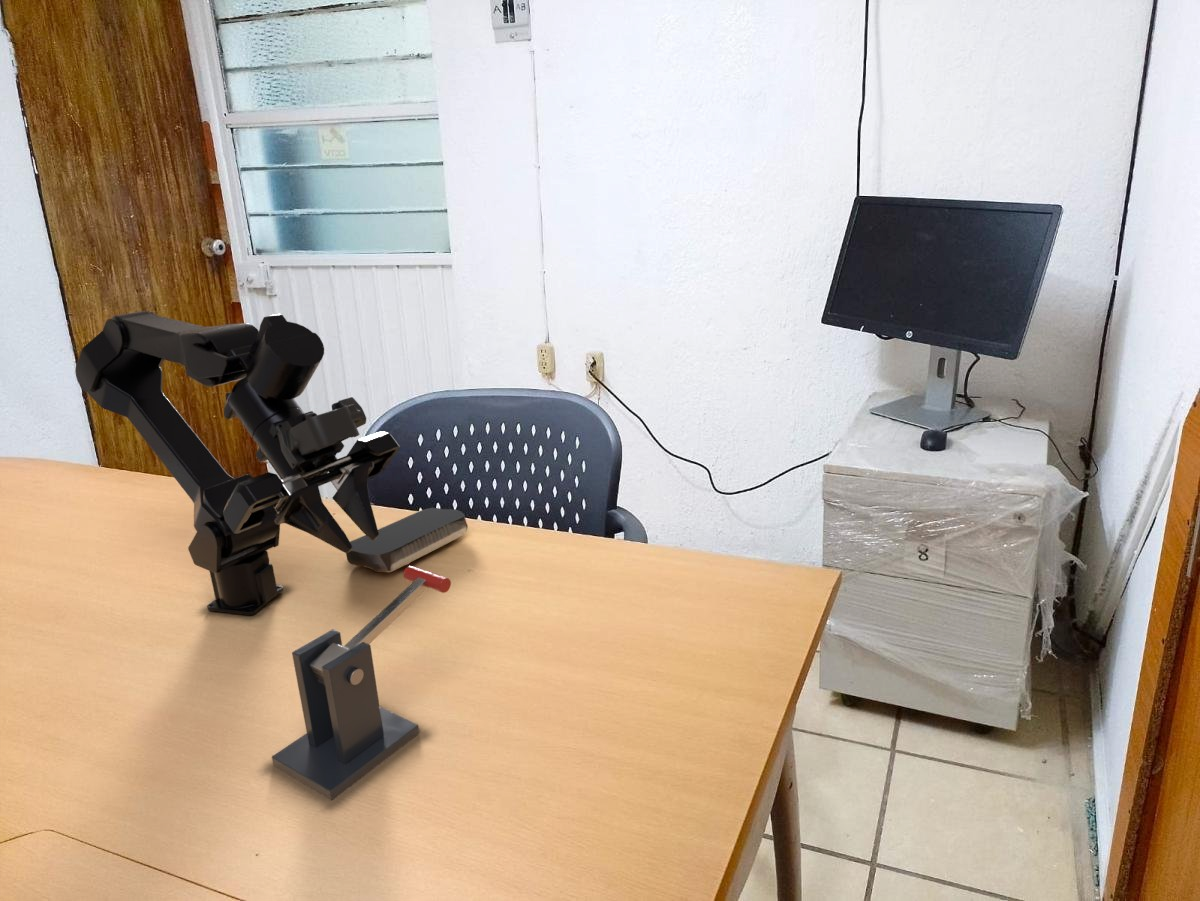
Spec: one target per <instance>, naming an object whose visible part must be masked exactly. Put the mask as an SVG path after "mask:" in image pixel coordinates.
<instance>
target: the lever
mask: <svg viewBox="0 0 1200 901" xmlns="http://www.w3.org/2000/svg"><path fill="white" fill-rule="evenodd" d="M403 578H404V579H405V581H408V582H410V584H409V585H408V586H407V587H406V588H405V589H404V590H402V591H401V592H400V593H399V594H398V595H397V596H396V597H395V598H394V599H393V600H392V601H391V602H390V603H389V604H387V605H386V607H384V608H383V609H382V610H381V611H380V612H379V613H377V615H376V616H374V617H373V618H372V620H370V621H369V622H368V623H367V624H366V625H365V626H364V627H363V628H361V630H359V631H358V632H357V633H356V634H355V635H354V636H353V637H352V638H351V639H350V640H349V641H348V642H347V643H345V644H344V645H342V646H340V645H338V644H336V643H332V644H331V645H330V646H329V647H328V648H327V649H325V650H324V651H323V652H322V653H321V654H320V655H319V656H318V657H317V658H316V659H315V660H313V661H312V662H311V663H310V666H311V668H312V670H313V672H314V674H315V676H316V678H317V680H318V682H319V683H320V684H322V685H324V686H325V682H324V676H323V670H322V666H324V665H325V664H327V663H329V662H330V661H332V660H334V659H335V658H337V657H339V656H340V655H342V654H344V653H345V652H347V651H349V650H350V649H352V648H353V647H355V646H357V645H358V644H360V643H362V642H365V643H367V644H369V645H371V643H373V642H374V640H376V638H378V637H379V636H380V635H381V634H382V633H383V632H384V631H385V630H386V629H388V628H389V626H390V625H392V624H393V623H394V622H395V621H396V620H397V619H398V618H399V617H400V616H401V615H402V614H403V613H404V612H405V611H406V610H407V609H408V608H410V607H411V606H412V604H414V603H415V602H416V601H417V600H418V599H419V598H420V597H421V596H422V595H423V594H424V593H425V592H426V591H427V590H428V589H431V590H434V591H437V592H439V593H442V594H445V593H447V592H448V591H449V590H450V588H451V587H452V586H451V585H452V581H451V579H450V578H449V577H447V576H444V575H440V574H437V573H434V572H431V571H428V570H425V569H422V568H419V567H416V566H413V565H409V566H406V568H405V569H404V572H403Z"/></svg>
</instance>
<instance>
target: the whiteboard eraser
mask: <svg viewBox="0 0 1200 901" xmlns="http://www.w3.org/2000/svg"><path fill="white" fill-rule="evenodd" d="M377 529H378V533H379V536H378V537H377V538H376V539H375V540H371V539H370V538H369V537H368V536H367V535H365V534H364V535H362V536H359V537H358V538H356V539H353V540H349V541H350V543H351V545H352V549H351V551H350V552H348V553H345V555H346V556H345V557H346V560H347V563H349V564H351V565H353V566H359V567H362V568H363V567H364V568H368V569H370V570H372V571H375V572H382V573H392V572H394V571H396V570H399V569H400V568H402V567H405V566H408V565H409V564H410V563H412V562H414V561H416V560H417V559H420V558H422V557H424V556H426V555H428V554H430V553H431V552H433V551H435V550H438V549H439V548H442V547H444V546H445V545H447V544H449V543H451V542H453V541H455V540H457V539H459V538H461V537H463V536H464V535H466V533H467V530H468V523H467V519H466V516H465V513H463V512H462V511H460V510H458V509H452V508H439V507H429V508H424V509H422V510H419V511H417V512H415V513H412V514H410V515H407V516H406V517H403V518H401V519H399V520H396V521H394V522H392V523H390V524H387V525H385V526H383V527H381V528H377Z"/></svg>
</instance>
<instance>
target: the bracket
mask: <svg viewBox="0 0 1200 901" xmlns="http://www.w3.org/2000/svg"><path fill="white" fill-rule="evenodd" d="M332 643H336V644H338V645H340V646H343V641H342V636H341V632H340V631H339V630H336V629H334V628H332V629H330V630H329V631H327V632H324V634H321V635H320V636H318V637H316V638H315V639H313V640H311V641H309V642H308V643H306V644H304V645H303V646H301V647H299V648H297V649H296V650H293V651H292V652H291V655H292V660H293V667H294V672H295V676H296V680H297V681H296V682H297V687H298V692H299V699H300V704H301V709H302V714H303V720H304V725H305V730H306V733H305V734H303V735H302V736H300V737H299V738H297V739H296V740H294V741H292V742H291V743H290V744H288V745H287V746H285V747H284V748H282V749H281V750H280V751H277V752H276V753H275V754H273V755H272V756H271V760H272V765H273V766H274V767H275V768H277V769H278V770H280V771H282V772H283V773H285V774H287V775H288V776H290V777H292V778H293V779H295V780H297V781H299V782H300V783H302V784H304V785H305V786H307V787H308V788H310V789H312V790H313V791H315V792H317V793H318V794H320V795H322V796H323V797H325V798H327V799H328V800H329V801H333V800H335V799H336V798H337V797H339V796H340V795H341V794H343V793H344V792H345V791H346V790H348V789H349V788H350V787H352V786H353V785H354V784H356V783H357V782H358V781H360V780H361V779H362V778H364V777H365V776H366V775H367V774H368V773H370V772H371V771H372V770H374V769H375V768H376V767H378V766H379V765H381V764H382V763H383V762H385V760H387V759H388V758H389V757H391V756H392V755H394V754H395V753H396V752H397V751H399V750H400V749H401V748H402V747H404V746H405V745H407V744H408V743H410V742H411V741H412V740H413V739H414V738H417V736H418V735H420V728H419V724H418V723H415V722H413V721H411V720H409V719H407V718H404V717H403V716H401V715H399V714H396V713H394V712H392V711H391V710H388V709H387V708H384V707H382V706H380V700H379V694H378V688H377V680H376V674H375V667H374V659H373V653H372V646H371V644H367V643H365V642H362V643H360V644H358V645H357V646H355V647H353V648H352V649H350V650H349V651H347V652H345V653H344V654H342V655H340V656H339V657H337V658H335V659H334V660H332V661H330V662H329V663H327V664H325V665H324V666H322V670H323V676H324V682H325V686H324V685H322V684H320V683H319V682H318V680H317V678H316V676H315V674H314V672H313V670H312V668H311V666H310V663H311V662H312V661H313V660H315V659H316V658H317V657H318V656H319V655H320V654H321V653H322V652H323V651H324V650H325V649H327V648H328V647H329V646H330V645H331V644H332Z"/></svg>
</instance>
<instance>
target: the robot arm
mask: <svg viewBox="0 0 1200 901" xmlns="http://www.w3.org/2000/svg"><path fill="white" fill-rule="evenodd" d="M324 355H325V346H324V343H323V341H322V339H321V337H320V336H319V335H318V334H317V332H313V331H312V330H311V329H309V328H308V327H305V326H304V325H302V324H299V323H296V322H292V321H288V320H287V319H286V318H285V316H284V315H283V314H282V313H278V314H272V315H268V316H263V318H262V320H261V322H260V325H259V329H258V328H257V327H256V326H255V325H253V324H251V323H248V322H247V323H246V322H244V323H230V324H229V323H228V324H219V325H212V326H203V325H199V324H195V323H190V322H186V321H183V320H178V319H174V318H169V317H165V316H161V315H157V314H156V313H155V312H153V311H147V310H140V311H135V312H130V313H122V314H116V315H112V317H111V318H108V319H106V321H105V323H104V325H103V328H102V330H101V331H100V332H99V333H98V334H97V335H96V336H94V337H93V339H91V340H90V341H89V342H88V343H87V344H86V345H84V346H83V347H82V348H81V351H80V354H79V356H78V359H77V362H76V365H75V370H74V371H75V377H76V381H77V383H78V385H79V387H80V388H81V389H82V391H84V392H85V393H87V394H88V395H89V396H90V398H92V399H93V401H95V402H96V404H97V405H98V406H99V407H101V409H102V410H103V409H104V410H107V411H109V412H112V413H114V414H117V415H119V416H122V417H125V418H127V419H128V421H129V422H130V424H132V425H133V427H134V429H135V430H136V431H137V432H138V433H139V434H140V436H141V437H142V439H143V440H144V441H145V442H146V444H147V445H148V446H149V447H150V448H151V450H152V451H153V452H154V454H155V455H156V456H157V457H158V459H159V460H160V461H161V462H162V464H163V465H164V466H165V468H166V469H167V470H168V472H169V473H170V474H171V476H172V477H173V478H174V479H175V481H176V482H177V483H178V485H179V486H180V487H181V488H182V490H183V491H184V492H185V493H186V495H187V497H189V498H190V500H191V501H192V503H193V527H194V530H195V531H196V533H195V534H194V537H193V538H192V540H191V542H190V543H189V546H188V552H189V555H190V558H191V559H192V560H191V561H192V562H193V564H194V565H195V566H196V567H199V568H202V569H204V570H207V571H208V572H209V576H210V581H211V585H212V590H213V595H214V600H212V601H211V602H210V603H208V604H207V605H206V610H207V611H210V612H219V613H228V614H236V615H237V614H238V615H245V616H252V615H255V614H257V612H259V611H260V610H262V609H263V608H264V607H265V606H266V605H267V604H269V603H270V602H271V601H272V600H273V599H275V598H276V597H277V596H278V595H280V594H281V593H282V592H283V591H284V586H283V585H278V584H277V582H276V575H275V571H274V566H273V564H272V563H270V558H269V552H268V550H271V549H273V548H276V547H278V546H279V544H280V531H281V525H282V524H286V525H288V526H291V527H293V528H296V529H297V530H300V531H303V532H305V533H307V534H309V535H311V536H313V537H315V538H317V539H319V540H320V541H322V542H324V543H326V544H328V545H330V546H331V547H334V548H335V549H337V550H338V551H341V552H343V553H344V554H346V553H348V552H350V551H351V549H352V545H351V543H350V541H351V540H350V539H349V538H348V535H347V534H346V533H345V532H344V530H343V529H342V527H341V526H340V525H339V523H338V522H337V520H336V519H335V517H334V516H333V515H332V514H331V512H330V510H329V509H328V508H327V506H326V505H325V504H324V502H323V499H322V496H321V491H320V486H323V485H325V484H328V483H331V484H332V485H333V486H334V488H335V489H336V492H335V493H334V494H333V496H332V500H333V501H334V502H335V503H336V505H337V506H339V507H340V509H341V510H342V512H344V514H345V515H347V517H349V518H350V520H351V521H352V522H353V523H354V524H355V525H356V527H358V529H359V530H360V531H361V532H362V533H363V534H364V536H365V535H367V536H368V537H369V538H370V539H371V540H375V539H376V538H377V537H378V536H379V533H378V529H379V528H378V526H377V522H376V519H375V515H374V511H373V508H372V504H371V503H372V502H371V499H370V494H369V488H368V487H369V486H368V481H369V480H371V479H373V478H376V477H377V476H379V475H380V474H382V473H383V472H384V470H385V469H386V467H387V466H388V465H389V464H390V462H391V461H392V459H393V458H394V457H395V455H396V454H397V453H398V451H399V450H400V449H401V446H400V444H398V442H397V440H396V439H395V438H394V437H393V435H392V434H391V433H390V432H387V431H377V432H375V433H372V434H369V435H367V436H364V437H361V438H359V439H357V440H356V441H355V443H354V444H353V445H352V447H351V448H350V449H349V451H348V453H347V454H346V455H345V456H343V457H339V458H337V457H336V455H337V454H339V453H341V452H342V450H343V449H344V447H345V445H344V443H343V441H345V440H348V439H350V438H351V439H352V438H357V437H358V436H360V431H359V430H358V428H360V427H362V426H365V425H366V424H367V416H366V413H365V411H364V408H363V406H361V405H360V403H359V402H358V401H357V400H356V399H355V398H354V397H353V396H348V397H346V398H343V399H339V400H338V401H337V402H334V403H332V404H331V410H330V411H326V412H322V413H320V414H318V413H316V412H314V411H313V410H311V411H308V412H304V410H303V409H302V407H301V406H300V405H299V404H298V402H297V401H296V399H297V398H298V397H300V396H301V395H302V394H303V392H304V391H305V389H306V388H307V386H308V384H309V383H310V381H311V379H312V377H313V376H314V374H315V372H316V370H317V369H318V367H319V365H320V363H321V361H323V357H324ZM165 361H169V362H172V363H175V364H179V365H182V366H183V367H184V370H185V375H186V376H187V377H189V378H190V379H192V380H194V381H195V382H197V383H199V384H201V385H203V386H204V387H207V388H213V387H218V386H222V385H225V384H230V383H232V382H233V383H234V382H236V383H235V384H234V385H233V387H232V389H231V391H229V392H226V393H225V396H224V397H225V404H224V406H223V416H224V418H225V420H231V419H235V418H237V419H238V421H239V422H240V423H241V424H242V426H243V427H244V429H245V430H246V432H247V433H248V434H249V436H250V437H251V439H252V440H253V442H254V443H255V444H256V446H257V447H258V448H257V450H256V452H255V454H254V455H255V457H256V458H257V459H258V461H259V463H262V462H265V461H268V463H269V464H270V465H271V467H272V468H273V470H274V471H275V472H276V473H273V472H269V471H268V472H264V473H262V474H260V475H256V476H252V475H250V474H249V473H246V474H243V475H241V476H238V477H234V476H232V475H230V474H229V473H228V472H227V471H226V470H225V468H224V467H223V466H222V464H220V462H219V461H218V460H217V459H216V458H215V456H214V455H213V454H212V453H211V451H210V449H208V447H207V446H206V445H205V443H203V441H202V440H201V439H200V437H199V435H197V433H195V431H194V430H193V428H192V427H191V426H190V425H189V424H188V422H186V420H185V419H184V418H183V416H182V415H181V414H180V413H179V411H178V410H177V409H176V407H175V406H174V405H173V403H172V402H171V401H170V400H169V399H168V398H167V396H166V395H165V393H164V392H163V370H162V367H163V364H164V362H165Z"/></svg>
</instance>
